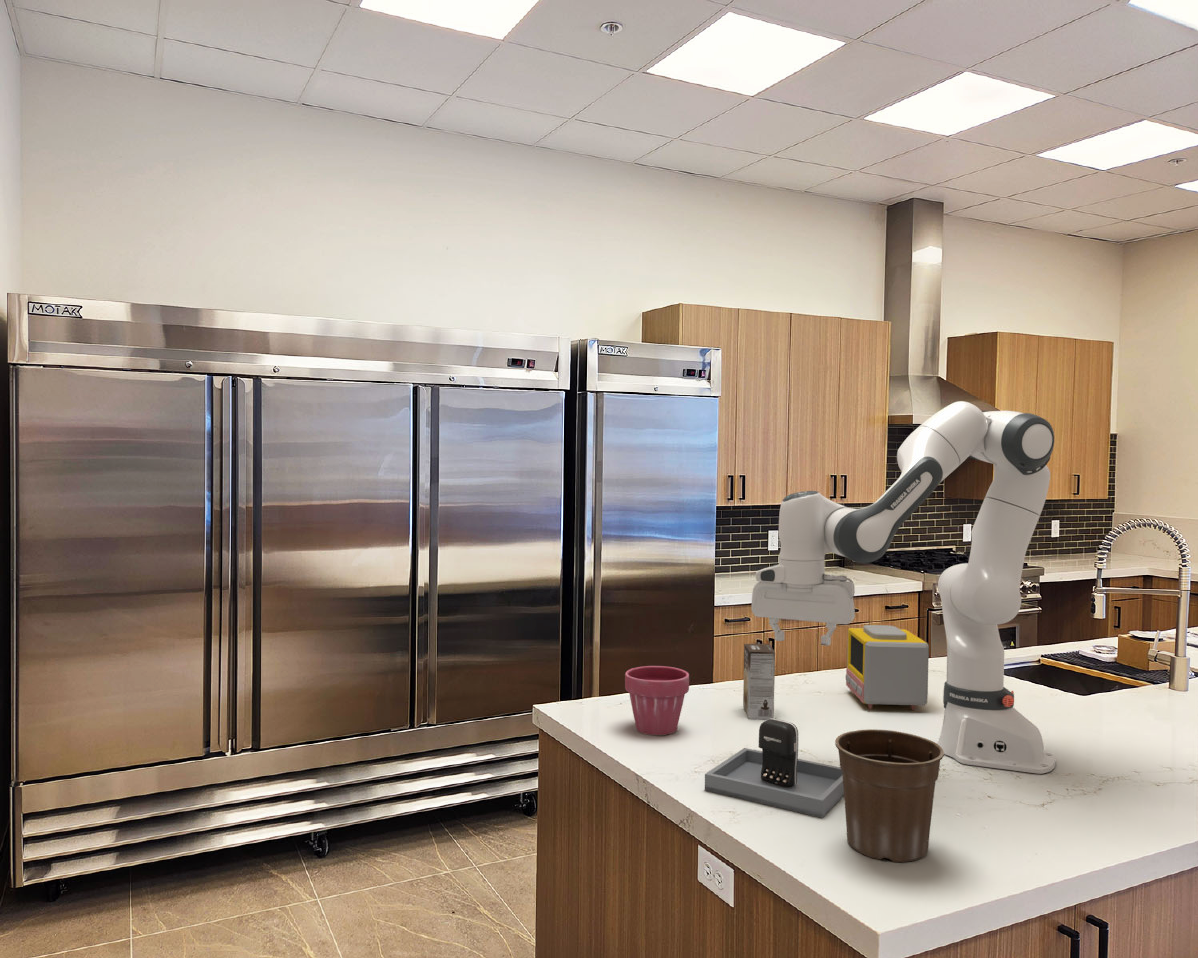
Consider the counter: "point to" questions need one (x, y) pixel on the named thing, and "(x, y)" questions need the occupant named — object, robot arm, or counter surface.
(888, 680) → the alarm clock
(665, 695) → the plant pot
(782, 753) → the battery charger
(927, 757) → the plant pot
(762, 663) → the coffee box
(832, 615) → the robot arm
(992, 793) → the counter surface
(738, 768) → the tray
